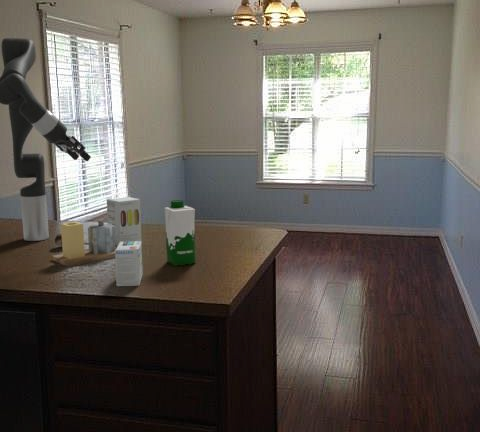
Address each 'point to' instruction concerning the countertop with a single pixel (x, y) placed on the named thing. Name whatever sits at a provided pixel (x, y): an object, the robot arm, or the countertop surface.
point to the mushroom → (58, 240)
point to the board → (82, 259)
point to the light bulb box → (128, 263)
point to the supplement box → (125, 218)
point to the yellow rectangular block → (72, 240)
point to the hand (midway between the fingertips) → (82, 158)
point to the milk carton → (180, 233)
